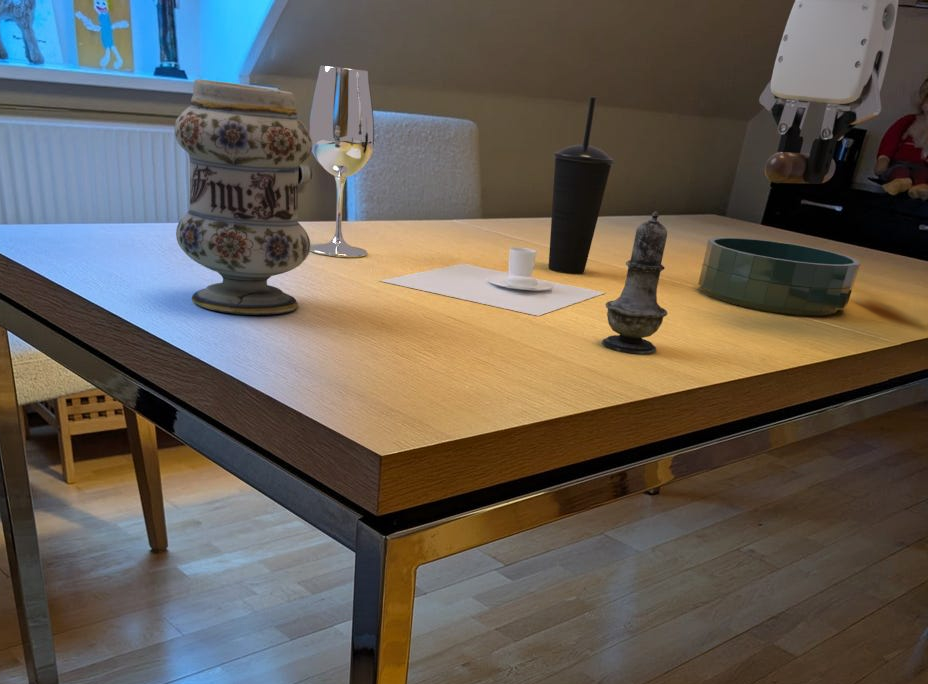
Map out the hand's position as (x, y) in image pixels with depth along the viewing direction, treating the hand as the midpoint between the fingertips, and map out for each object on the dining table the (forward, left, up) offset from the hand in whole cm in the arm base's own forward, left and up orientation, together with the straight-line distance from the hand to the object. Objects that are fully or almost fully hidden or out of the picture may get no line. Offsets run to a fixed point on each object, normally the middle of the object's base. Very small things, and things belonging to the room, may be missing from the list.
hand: (798, 178), depth 96 cm
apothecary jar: (+55, +17, -15) cm, 60 cm away
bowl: (-6, -16, -15) cm, 23 cm away
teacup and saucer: (+30, -5, -15) cm, 34 cm away
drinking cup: (+20, -22, -15) cm, 33 cm away
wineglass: (+50, -17, -15) cm, 55 cm away
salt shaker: (+18, +18, -15) cm, 30 cm away
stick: (0, 0, 0) cm, 0 cm away
